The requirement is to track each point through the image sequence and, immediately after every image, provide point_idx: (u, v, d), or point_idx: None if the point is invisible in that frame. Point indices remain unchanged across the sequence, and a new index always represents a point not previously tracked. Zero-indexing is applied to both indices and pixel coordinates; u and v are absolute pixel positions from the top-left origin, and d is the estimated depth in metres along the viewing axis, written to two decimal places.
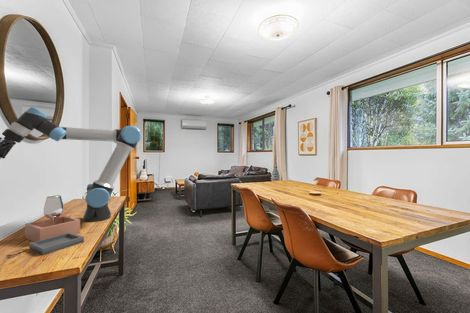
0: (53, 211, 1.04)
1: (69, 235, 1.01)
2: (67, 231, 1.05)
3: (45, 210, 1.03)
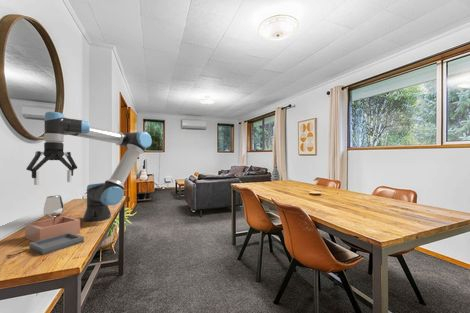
0: (53, 211, 1.04)
1: (69, 235, 1.01)
2: (67, 231, 1.05)
3: (45, 210, 1.03)
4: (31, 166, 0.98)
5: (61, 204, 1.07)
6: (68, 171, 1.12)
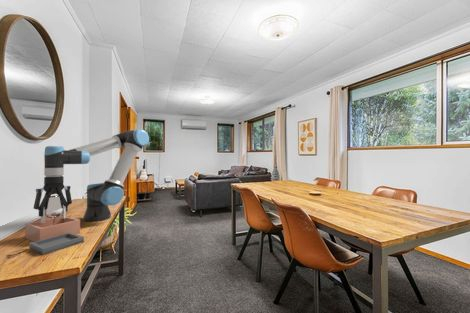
0: (53, 211, 1.04)
1: (69, 235, 1.01)
2: (67, 231, 1.05)
3: (45, 210, 1.03)
4: (37, 205, 1.00)
5: (61, 204, 1.07)
6: None
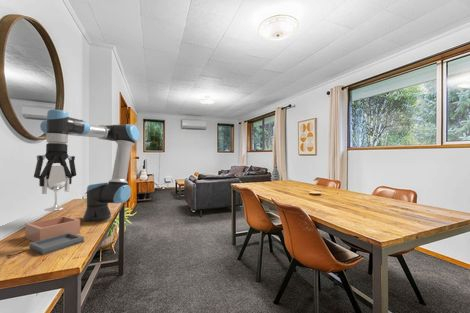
0: (55, 181, 0.93)
1: (69, 235, 1.01)
2: (67, 231, 1.05)
3: None
4: (38, 173, 0.90)
5: (64, 174, 0.97)
6: None
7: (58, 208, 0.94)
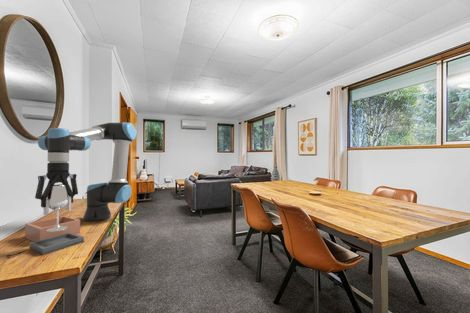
0: (57, 201, 0.91)
1: (69, 235, 1.01)
2: (67, 231, 1.05)
3: None
4: (39, 194, 0.88)
5: (66, 194, 0.95)
6: None
7: (60, 228, 0.93)
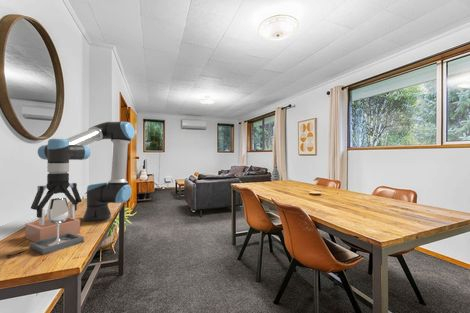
0: (57, 215, 0.91)
1: (69, 235, 1.01)
2: (67, 231, 1.05)
3: (49, 214, 0.91)
4: (36, 205, 0.87)
5: (66, 208, 0.95)
6: (71, 206, 0.99)
7: (61, 242, 0.93)
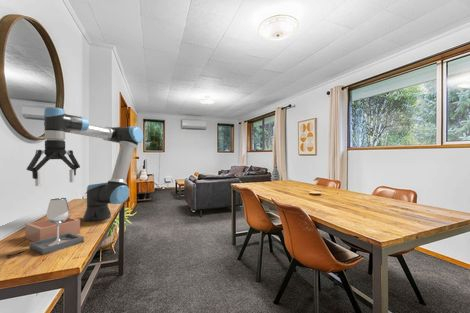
0: (57, 215, 0.91)
1: (69, 235, 1.01)
2: (67, 231, 1.05)
3: (48, 215, 0.91)
4: (32, 166, 0.91)
5: (66, 208, 0.95)
6: (70, 171, 1.06)
7: (61, 242, 0.93)
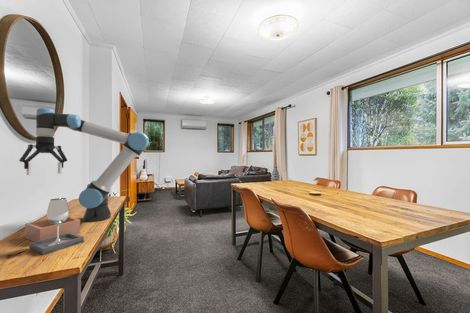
0: (57, 215, 0.91)
1: (69, 235, 1.01)
2: (67, 231, 1.05)
3: (48, 215, 0.91)
4: (24, 158, 1.08)
5: (66, 208, 0.95)
6: (59, 163, 1.22)
7: (61, 242, 0.93)
